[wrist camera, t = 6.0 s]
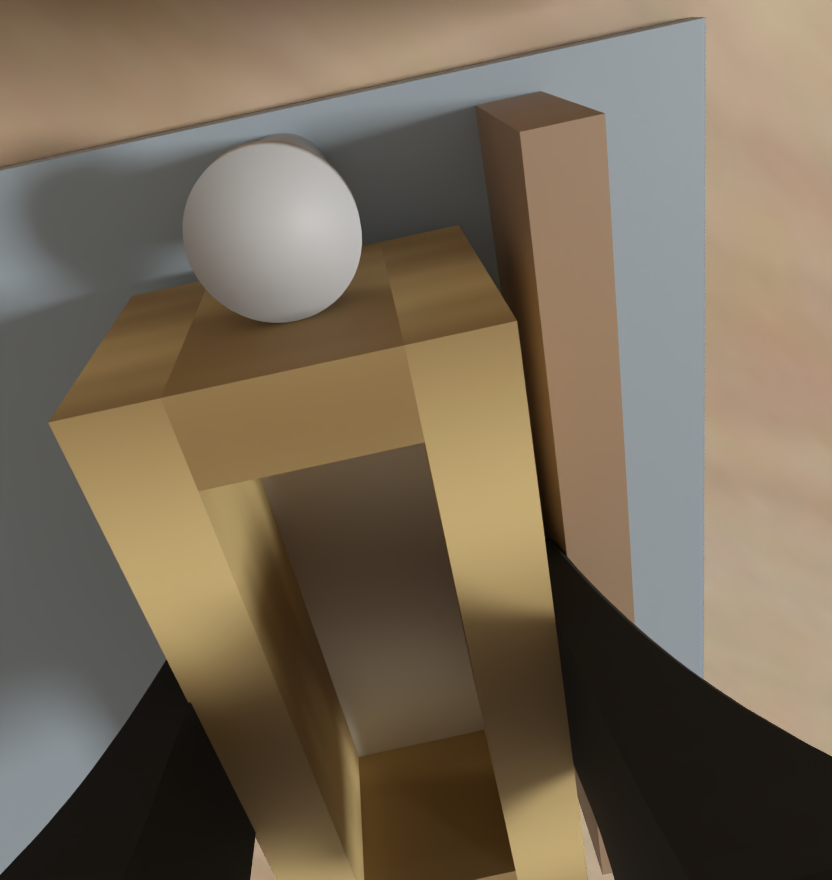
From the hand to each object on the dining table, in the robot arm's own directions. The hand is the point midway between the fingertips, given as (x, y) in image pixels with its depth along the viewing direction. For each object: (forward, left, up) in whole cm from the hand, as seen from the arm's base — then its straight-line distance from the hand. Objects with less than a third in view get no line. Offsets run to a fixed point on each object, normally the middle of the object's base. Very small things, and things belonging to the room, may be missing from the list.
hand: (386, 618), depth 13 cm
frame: (0, 0, -2) cm, 2 cm away
